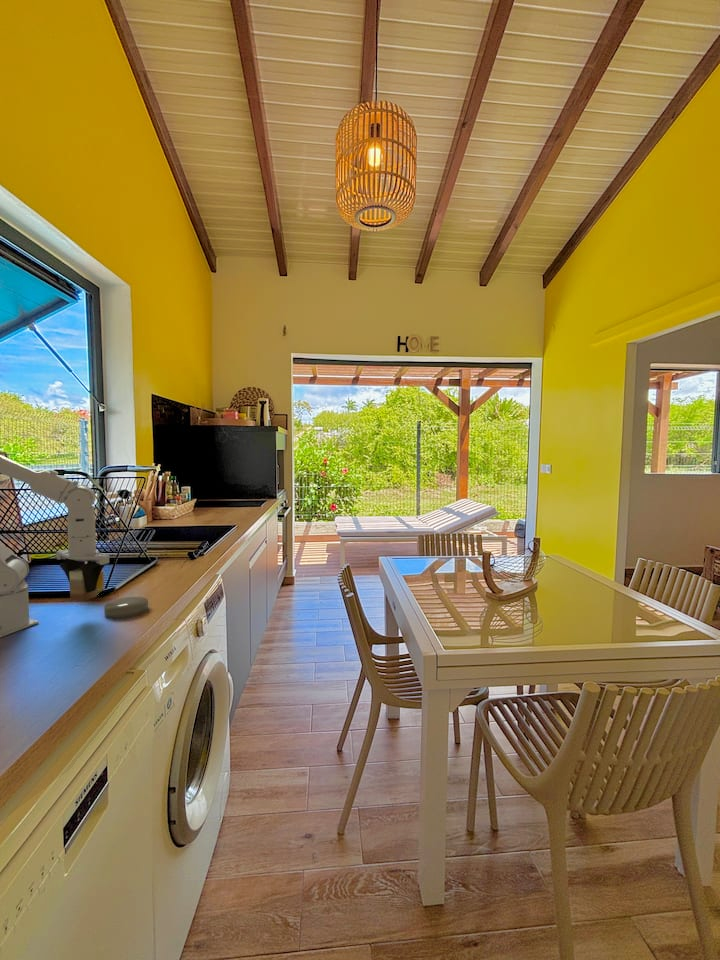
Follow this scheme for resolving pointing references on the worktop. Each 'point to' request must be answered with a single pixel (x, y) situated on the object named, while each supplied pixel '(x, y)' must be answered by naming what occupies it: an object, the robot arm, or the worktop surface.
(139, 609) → the stand
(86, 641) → the worktop surface
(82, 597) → the block
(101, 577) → the supplement bottle
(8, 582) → the robot arm
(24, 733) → the worktop surface
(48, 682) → the worktop surface
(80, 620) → the worktop surface
